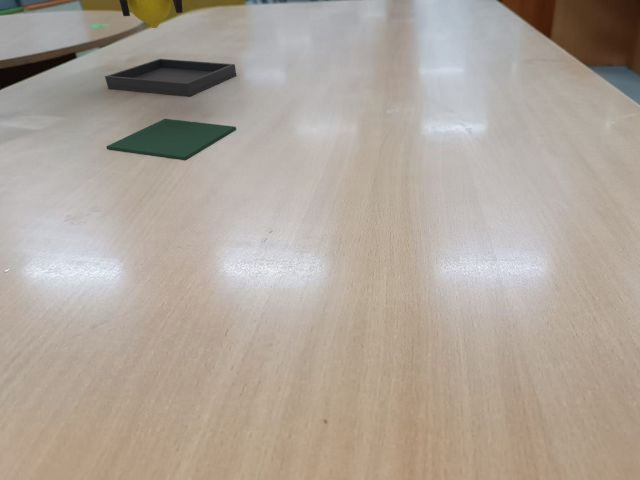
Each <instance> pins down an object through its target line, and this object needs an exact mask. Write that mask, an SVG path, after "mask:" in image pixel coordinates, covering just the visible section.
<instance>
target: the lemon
mask: <svg viewBox="0 0 640 480" xmlns="http://www.w3.org/2000/svg"><path fill="white" fill-rule="evenodd" d="M127 3H128V8H129V11H130V12H131V13H132V15H134V17H135V18H137V19H138V20H140V21H141V22H144V23H145V24H147V25H148V26H149V27H151V28H152V29H156V28H158V27H159V25H160V24H161V23H162V22H163V21H165V20H166V19H167V18H168V16H169V14H170V12H171V9H172V0H127Z"/></svg>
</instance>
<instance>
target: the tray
mask: <svg viewBox="0 0 640 480" xmlns="http://www.w3.org/2000/svg"><path fill="white" fill-rule="evenodd" d="M236 69H237V68H236V64H235V63H223V62H222V63H221V62H209V61H196V60H195V61H194V60H182V59H181V60H180V59H167V58H158V59H155V60H152V61H148V62H145V63H142V64H139V65H135V66H133V67H130V68H126V69H124V70H120V71H117V72H115V73H111V74H108V75H105V76H104V79H105V82H106V86H107V89H108V90H109V89H110V90H118V91H119V90H120V91H129V92H138V93H140V92H141V93H148V94H149V93H150V94H160V95H169V96H170V95H171V96H180V97H192V96H194V95H196V94H198V92H199V93H202V92H203V91H206V90H208V89H210V88H212V87H214V86H217V85H218V84H221V83H223V82H225V81H227V80H230V79H233V78H234V77H237V70H236Z"/></svg>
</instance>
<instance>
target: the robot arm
mask: <svg viewBox="0 0 640 480" xmlns="http://www.w3.org/2000/svg"><path fill="white" fill-rule="evenodd" d="M118 1H119V5H120V7H121V13H122V15H123V17H131V15H130V9H129V7H128V3H127V0H118ZM172 1H173V2H172V3H173V6H174V10H175V13H176V14H182V13H184V12H183V0H172Z"/></svg>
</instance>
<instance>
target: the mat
mask: <svg viewBox="0 0 640 480" xmlns="http://www.w3.org/2000/svg"><path fill="white" fill-rule="evenodd" d="M236 130H237V127H236V126H234V125H233V126H232V125H225V124H216V123H215V124H214V123H207V122H199V121H190V120H189V121H188V120H179V119H172V118H163V119H161V120H158V121H156V122H154V123H152V124H151V125H147V126H146V127H144V128H142V129H139V130H137V131H136V132H133V133H132V134H129V135H127V136H125V137H124V138H121V139H119V140H116V141H115V142H112V143H110V144H108V145H106V150H112V151H118V152H119V151H120V152H125V153H132V154H140V155H147V156H155V157H162V158H169V159H175V160H182V161H187V160H188V159H189V158H191V157H192V156H194V155H196V154H198V153H199V152H201V151H203V150H205V149H206V148H208V147H209V146H211V145H212V144H214V143H216V142H218V141H219V140H221V139H223V138H225V137H226V136H228V135H229V134H231V133H232V132H234V131H236Z"/></svg>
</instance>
